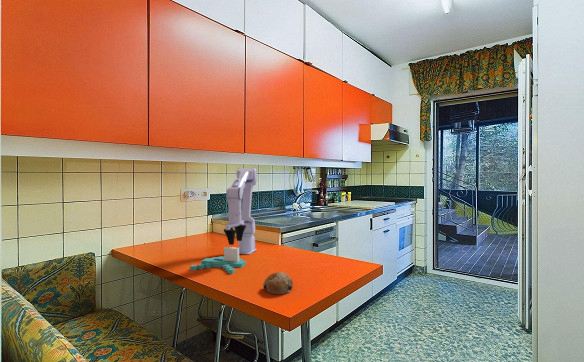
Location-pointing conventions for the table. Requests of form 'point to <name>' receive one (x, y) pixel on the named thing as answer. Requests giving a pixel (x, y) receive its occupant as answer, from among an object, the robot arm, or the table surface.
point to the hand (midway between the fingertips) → (235, 242)
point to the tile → (231, 254)
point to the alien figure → (219, 264)
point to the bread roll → (278, 283)
